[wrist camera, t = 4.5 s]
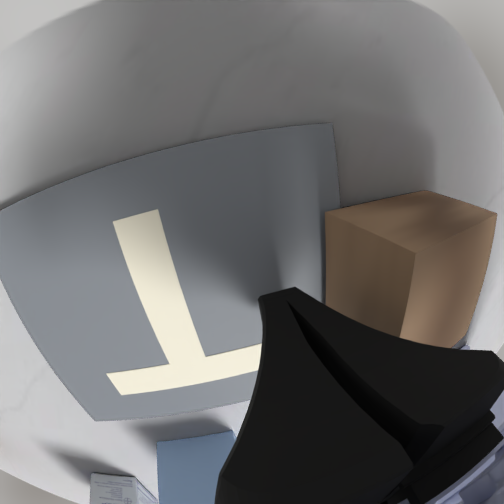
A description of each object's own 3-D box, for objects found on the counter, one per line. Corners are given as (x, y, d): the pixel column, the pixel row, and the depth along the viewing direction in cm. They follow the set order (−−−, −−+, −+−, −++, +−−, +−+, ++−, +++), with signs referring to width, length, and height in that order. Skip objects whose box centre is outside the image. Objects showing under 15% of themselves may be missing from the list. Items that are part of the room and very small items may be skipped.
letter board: (326, 122, 9) (332, 122, 9) (336, 367, 14) (339, 372, 13) (-16, 219, 7) (-22, 222, 7) (95, 416, 12) (94, 421, 12)
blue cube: (232, 429, 15) (248, 498, 10) (246, 458, 17) (261, 512, 12) (156, 440, 14) (159, 507, 9) (183, 468, 16) (190, 522, 12)
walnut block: (425, 190, 11) (497, 213, 7) (412, 298, 13) (465, 334, 10) (324, 212, 9) (415, 253, 6) (324, 343, 12) (379, 402, 8)
